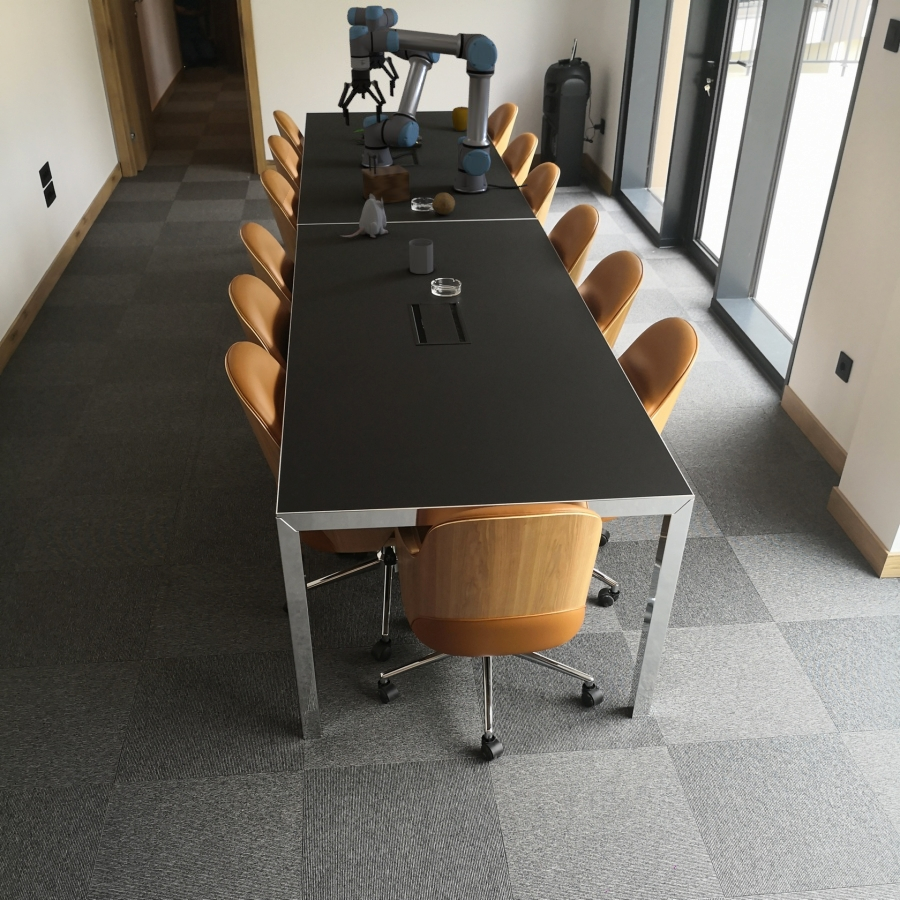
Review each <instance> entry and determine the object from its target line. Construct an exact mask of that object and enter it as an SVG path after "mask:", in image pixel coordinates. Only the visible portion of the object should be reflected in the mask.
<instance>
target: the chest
mask: <svg viewBox="0 0 900 900" xmlns="http://www.w3.org/2000/svg"><path fill="white" fill-rule="evenodd" d="M362 186H363V198H364V199H365V200H366V201H367V200H368V199H370V198H369V197H370V194H372V195H373V196H374V197H375V199H376V200H378V201H380V202H381V198H382V199H383V205H384V204H392V203H399V202H408V201H410V199H411V197H410V173H409V174H407V175H399V176H390V177H382V178H374V179H370V178H369V177H368V176H366V175H365V174H364V173H362Z"/></svg>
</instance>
